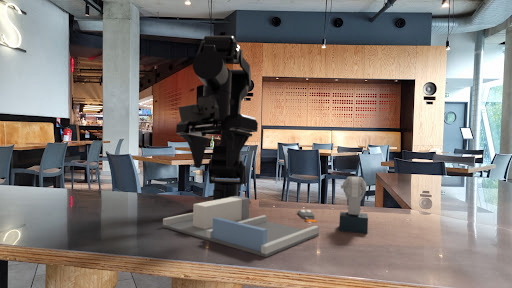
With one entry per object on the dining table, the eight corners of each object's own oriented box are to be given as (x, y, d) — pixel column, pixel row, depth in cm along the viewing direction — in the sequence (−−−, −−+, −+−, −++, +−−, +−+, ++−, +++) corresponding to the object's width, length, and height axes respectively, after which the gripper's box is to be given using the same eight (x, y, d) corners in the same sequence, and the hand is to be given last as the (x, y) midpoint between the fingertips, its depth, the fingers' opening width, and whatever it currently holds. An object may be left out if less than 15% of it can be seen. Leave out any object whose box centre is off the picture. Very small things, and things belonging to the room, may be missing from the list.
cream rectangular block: (235, 215, 86) (235, 195, 86) (248, 218, 83) (249, 198, 83) (192, 225, 76) (192, 203, 75) (205, 229, 73) (206, 206, 73)
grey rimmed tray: (221, 213, 89) (221, 196, 89) (318, 235, 73) (319, 214, 73) (162, 226, 76) (163, 207, 76) (265, 257, 60) (266, 232, 59)
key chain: (295, 214, 92) (296, 208, 92) (310, 215, 92) (311, 209, 92) (307, 229, 79) (307, 222, 79) (324, 229, 80) (324, 222, 79)
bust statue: (366, 225, 81) (368, 175, 81) (367, 235, 73) (370, 179, 73) (339, 223, 83) (341, 173, 82) (338, 233, 75) (340, 178, 74)
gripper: (158, 90, 79) (152, 165, 77) (222, 76, 67) (217, 164, 65) (197, 101, 87) (193, 169, 85) (260, 91, 76) (257, 168, 74)
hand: (212, 167), depth 77 cm, fingers open, 9 cm apart
